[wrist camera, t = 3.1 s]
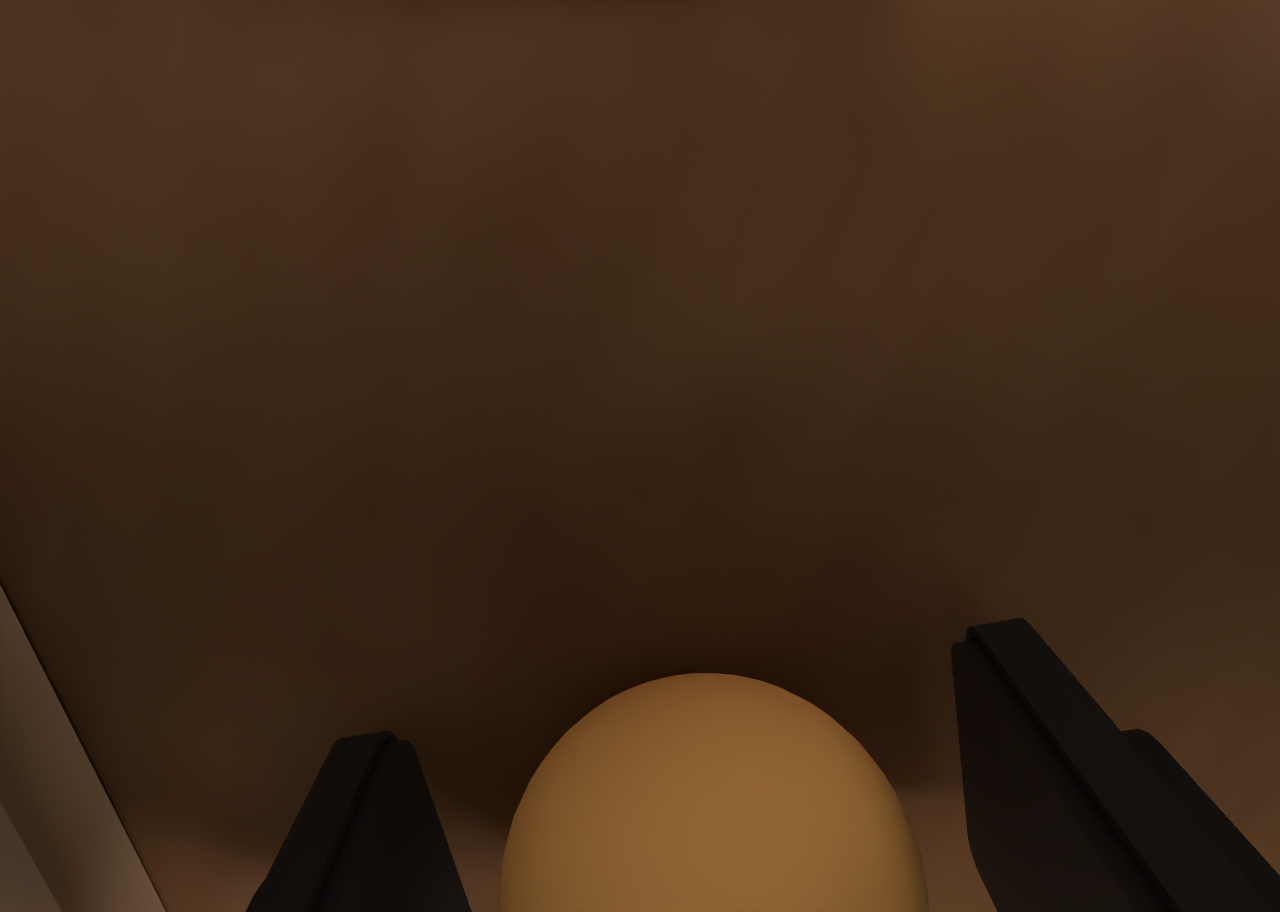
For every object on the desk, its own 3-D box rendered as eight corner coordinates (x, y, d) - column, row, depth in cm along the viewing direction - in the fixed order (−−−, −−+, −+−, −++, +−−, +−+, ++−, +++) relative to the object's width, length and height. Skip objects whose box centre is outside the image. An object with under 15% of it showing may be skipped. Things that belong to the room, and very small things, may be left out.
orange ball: (842, 570, 9) (987, 854, 6) (880, 853, 11) (1018, 1238, 7) (486, 634, 10) (392, 949, 6) (568, 904, 11) (533, 1304, 7)
